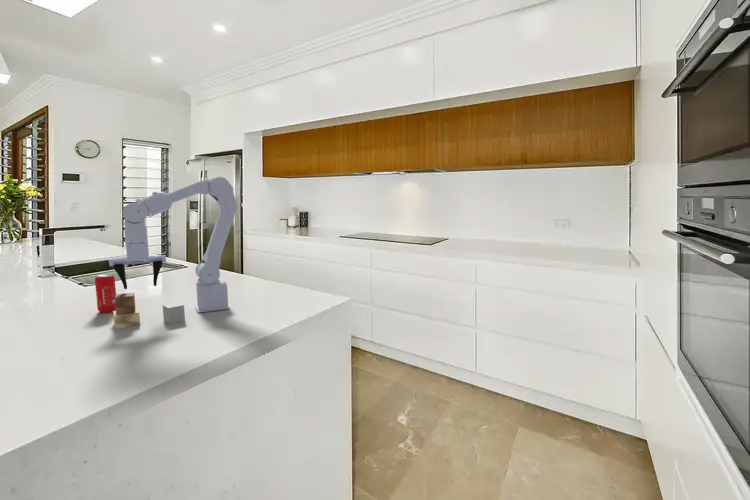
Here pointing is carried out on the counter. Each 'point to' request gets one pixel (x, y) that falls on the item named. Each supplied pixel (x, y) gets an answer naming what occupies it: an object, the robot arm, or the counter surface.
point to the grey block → (173, 313)
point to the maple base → (126, 319)
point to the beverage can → (105, 293)
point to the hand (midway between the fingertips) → (140, 286)
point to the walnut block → (125, 303)
